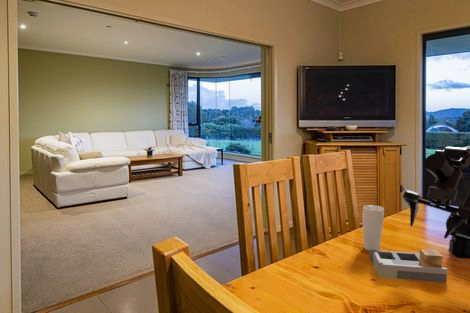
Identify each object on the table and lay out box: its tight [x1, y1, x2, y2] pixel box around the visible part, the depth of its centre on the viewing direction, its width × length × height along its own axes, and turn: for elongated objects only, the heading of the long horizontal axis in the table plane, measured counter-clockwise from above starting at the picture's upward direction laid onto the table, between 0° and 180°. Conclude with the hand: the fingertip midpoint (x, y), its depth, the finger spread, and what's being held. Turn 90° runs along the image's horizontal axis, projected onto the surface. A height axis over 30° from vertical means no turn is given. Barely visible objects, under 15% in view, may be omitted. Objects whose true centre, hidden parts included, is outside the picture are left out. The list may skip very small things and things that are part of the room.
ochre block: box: [419, 248, 443, 268], centre depth 99 cm, size 4×4×4 cm
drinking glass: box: [362, 204, 385, 252], centre depth 117 cm, size 7×7×15 cm
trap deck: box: [368, 249, 448, 283], centre depth 103 cm, size 18×14×4 cm
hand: (427, 231), depth 100 cm, fingers open, 9 cm apart
